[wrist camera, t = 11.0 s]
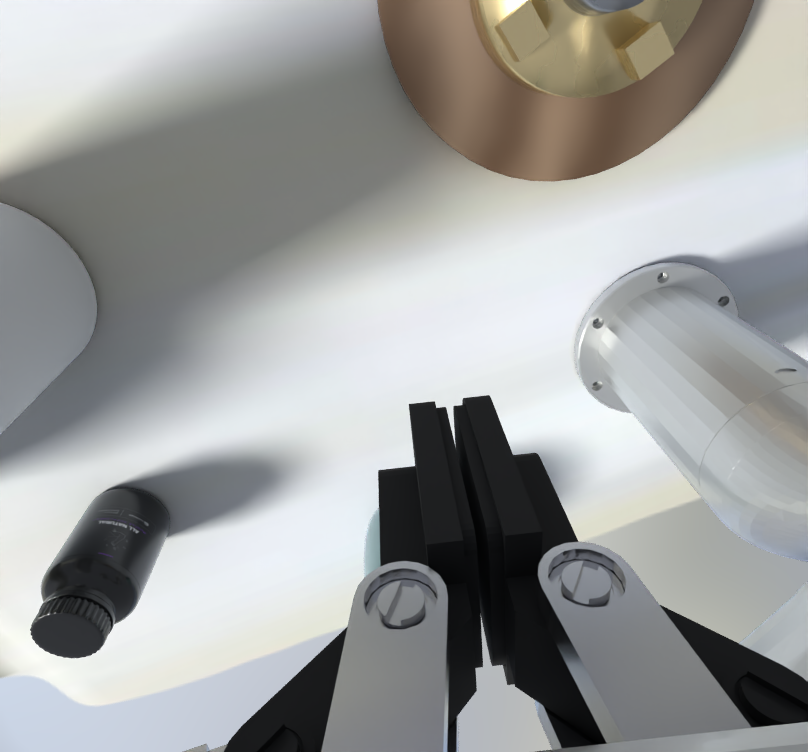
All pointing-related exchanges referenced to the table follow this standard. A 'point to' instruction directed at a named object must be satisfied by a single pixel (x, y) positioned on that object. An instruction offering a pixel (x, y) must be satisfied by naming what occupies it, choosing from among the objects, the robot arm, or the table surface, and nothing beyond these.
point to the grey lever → (580, 41)
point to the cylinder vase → (38, 309)
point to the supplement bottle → (100, 572)
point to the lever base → (539, 113)
